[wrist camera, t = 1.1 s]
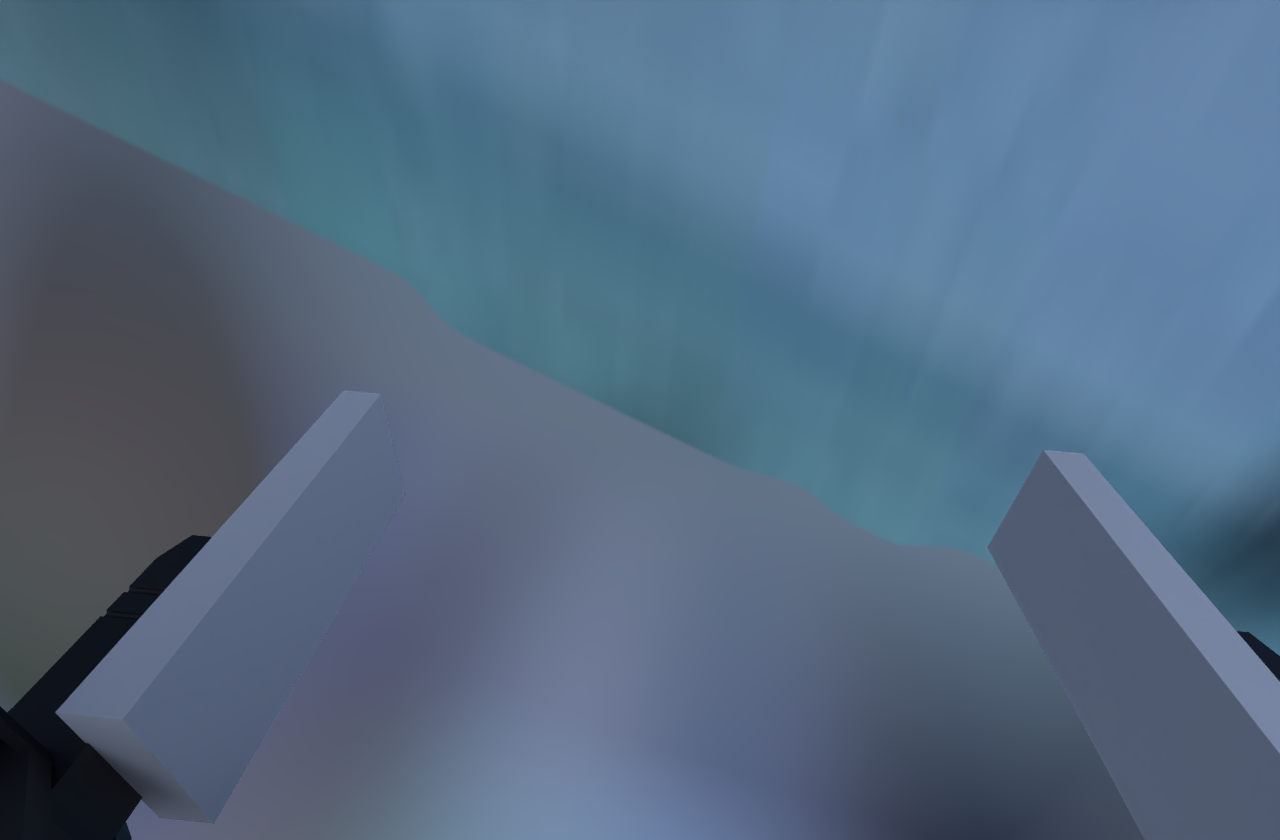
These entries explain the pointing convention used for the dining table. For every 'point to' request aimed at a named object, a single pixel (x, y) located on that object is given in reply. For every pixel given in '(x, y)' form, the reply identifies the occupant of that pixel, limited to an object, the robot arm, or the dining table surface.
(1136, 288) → the dining table surface
